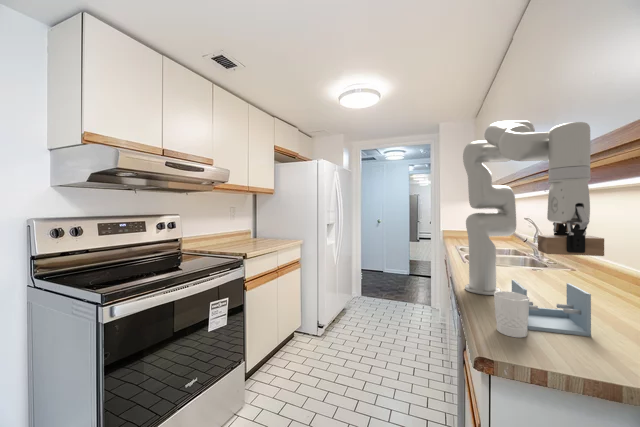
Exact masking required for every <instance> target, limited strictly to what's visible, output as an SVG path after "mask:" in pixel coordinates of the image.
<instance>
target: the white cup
mask: <svg viewBox="0 0 640 427" xmlns="http://www.w3.org/2000/svg"><path fill="white" fill-rule="evenodd" d="M493 297H494V298H493V300H494V302H493V303H494V315H495V321H496V322H495V323H496V330H497V332H499V333H500V334H502V335H504V336H506V337H507V336H508V337H510V338H511V337H512V338H517V339H518V338H519V339H520V338H526V337H527V336H528V329H527V326H528V318H529V301H530V297H529V296H528V295H527V296H526V295H523V294H520V293H515V292H512V291H508V290H507V291H503V290H501V291H499V292H495V293H494V295H493Z"/></svg>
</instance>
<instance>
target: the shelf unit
mask: <svg viewBox="0 0 640 427" xmlns="http://www.w3.org/2000/svg"><path fill="white" fill-rule="evenodd" d="M511 292H515V293H520V294H523V295H526V296H528V289H527V288H525V286H523V285H522V284H520V283H519V282H518V281H517V280H515V279H511ZM527 330H528V331H529V330H531V331H538V332H547V333H557V334H566V335H574V336H583V337H592V294H591V293H589V292H588V291H585V290H583V289H582V288H580V287H578V286H576V285H574V284H572V283H569V282H566V304H565V303H564V304H563V303H556V308H548V307H538V305H534V302H533V301H531V300H529V318H528V326H527Z"/></svg>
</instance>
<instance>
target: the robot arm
mask: <svg viewBox="0 0 640 427" xmlns="http://www.w3.org/2000/svg"><path fill="white" fill-rule="evenodd" d="M590 126H591V125H590V124H589V123H587V122H583V121H575V122H566V123H562V124H559V125H555V126H553V127H552V128H550V130H549V131H541V132H539V131H537V132H536V131H535V127H534V124H533V123H532V122H531V121H529V120H525V119H524V120H521V119H520V120H502V121H496V122H493V123H491V124H489V126H488V127H487V128H486V129H485V131H484V139H485V140H475V141H471V142H470V143H467V145H465V146H464V149H463V154H462V162H463V165H464V169H465V173H466V174H467V175H466V176H467V188H468V189H467V190H468V192H467V193H468V202H469V206H470V207H471V208H472V209H474V210H497V212H474V213H471V214H470V215H468V216H467V217H466V220H465V228H466V231H467V232H466V233H467V239H468V282H469V283H467V284H465V286H464V289H465V290H466V291H467V292H471V293H473V294H477V295H484V296H485V295H486V296H494V293H495V292H499V291H502V290H501V288H499V287H498V286H497V249H496V245H495V243H494V242H493V241H492V240H491V238H490V237H508V236H512V235H514V234H515V233H516V229H517V209H516V207H517V205H516V196H515V192H514V191H513V189H512V188H511V187H510V186H507V185H494V184H493V176H492V172H491V170H490V169H489V168H488V167H487V166H486V165H485V164H484V163H505V162H511V161H515V162H537V161H538V162H539V161H540V162H541V161H542V162H544V161H545V162H546V161H548V162H547V164H548V184H550V185H549V188H548V189H549V190H548V197H547V198H548V199H547V215H546V216H547V217H546V218H547V221H549V222H550V223H552V225H553V235H567V252H569V253H585V236H587V229H588V225H589V223H590V217H591V201H590V200H591V198H590V187H589V182H590V181H591V127H590Z"/></svg>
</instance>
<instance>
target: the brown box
mask: <svg viewBox="0 0 640 427" xmlns="http://www.w3.org/2000/svg"><path fill="white" fill-rule="evenodd" d="M537 251H539V252H541V253H543V254H546V255H563V256H564V255H565V256H566V255H567V256H589V257H590V256H591V257H592V256H593V257H594V256H595V257H605V238H604V237H598V236H593V235H586V236H585V253H569V252H567V235H554V234H537Z"/></svg>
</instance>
